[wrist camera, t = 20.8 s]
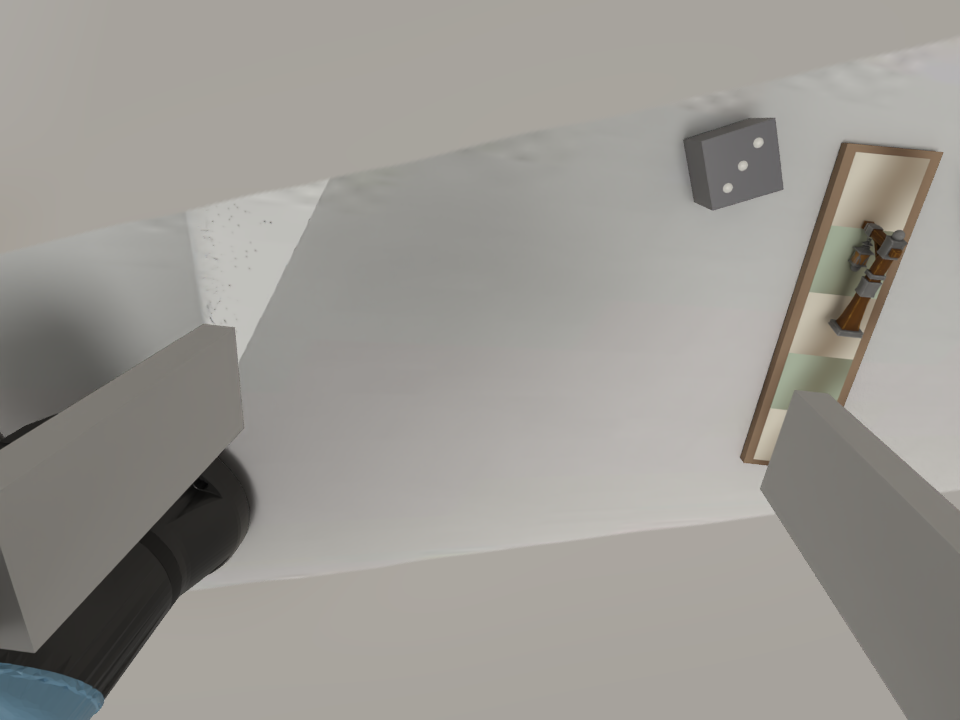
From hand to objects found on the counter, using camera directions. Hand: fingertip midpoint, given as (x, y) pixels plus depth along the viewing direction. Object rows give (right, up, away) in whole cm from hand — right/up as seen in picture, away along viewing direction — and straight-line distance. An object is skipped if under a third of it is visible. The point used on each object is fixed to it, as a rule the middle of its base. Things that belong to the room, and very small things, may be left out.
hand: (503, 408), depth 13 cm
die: (+17, +15, +27) cm, 35 cm away
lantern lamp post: (+26, +4, +29) cm, 39 cm away
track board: (+27, +4, +31) cm, 41 cm away
